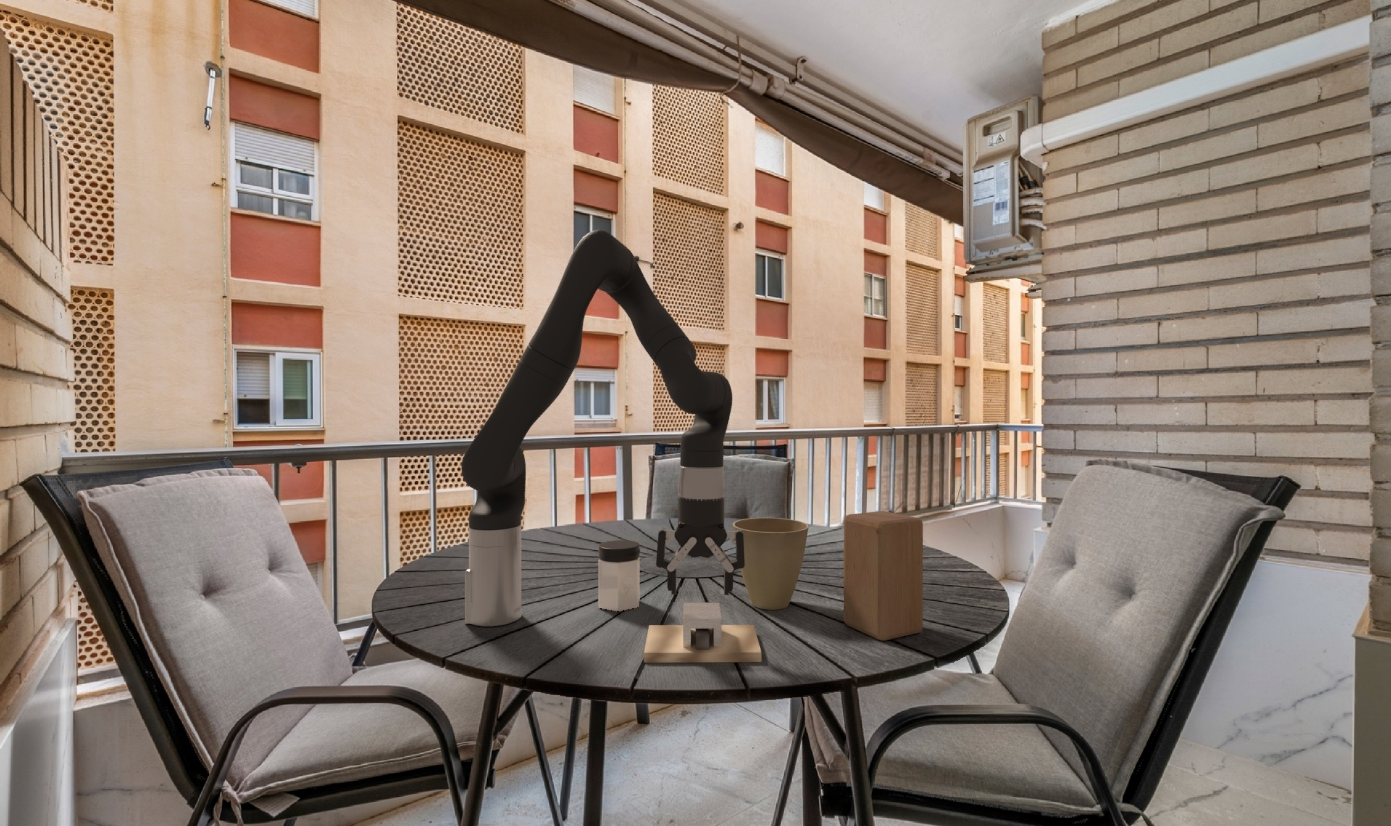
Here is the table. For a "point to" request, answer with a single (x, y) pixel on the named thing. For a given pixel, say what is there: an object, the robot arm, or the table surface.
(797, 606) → the table surface
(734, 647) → the stand
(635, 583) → the jar
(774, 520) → the plant pot
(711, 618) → the notched grey block
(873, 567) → the wooden block
